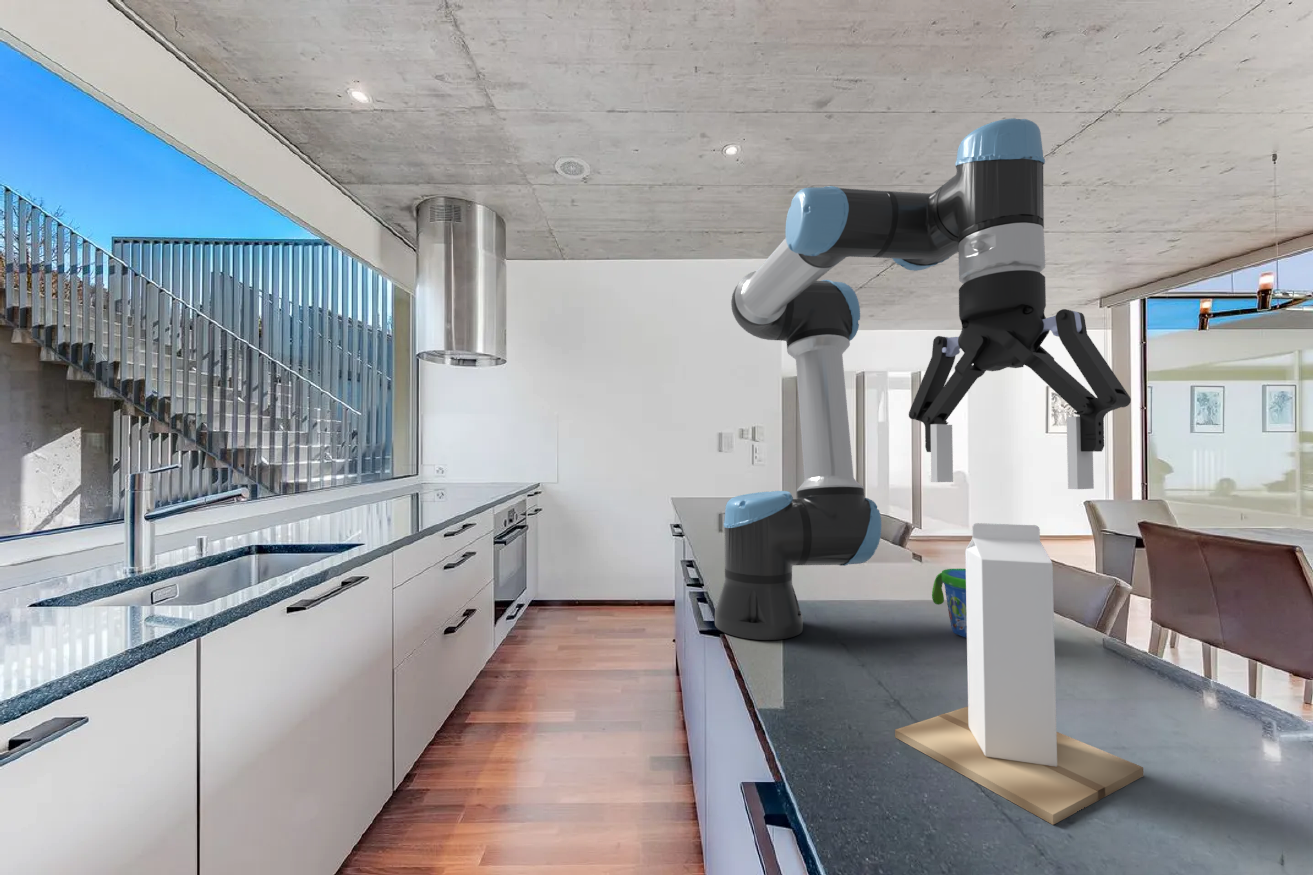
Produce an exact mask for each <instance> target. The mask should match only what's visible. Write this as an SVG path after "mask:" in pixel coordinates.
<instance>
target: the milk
mask: <svg viewBox="0 0 1313 875" xmlns="http://www.w3.org/2000/svg"><path fill="white" fill-rule="evenodd" d="M971 533H972V534H971V535H972V538H971V540H970V541H969V543H968V545H967V546H966V548H965V554H964V555H965V569H966V612H967V638H966V656H967V657H966V658H967V660H966V661H967V662H966V663H967V665H966V668H967V706H968V725H969V729H970V730H971V732H972V734H973V735H974V737H975V739H976V741H977V742H978V744H979V746H980V748H981V749H982V751H983V753H984V755H985V756H986V757H992V758H999V759H1006V760H1013V761H1020V762H1027V763H1034V764H1041V765H1048V766H1055V767H1057V733H1056V732H1057V702H1056V701H1057V699H1056V696H1057V695H1056V694H1057V693H1056V659H1055V656H1056V654H1055V651H1056V650H1055V649H1056V648H1055V621H1054V620H1055V613H1054V608H1055V607H1054V580H1053V579H1054V577H1053V576H1054V571H1053V570H1054V568H1053V566H1054V565H1053V562H1052V559H1051V558H1050V556H1049V554H1048V552H1047V551H1046V549H1045V547H1044V546H1043V544H1042V541H1041V529H1040V527H1039V526H1038V525H1035V524H1010V523H985V522H984V523H982V522H981V523H979V522H975V523H973V524H972V530H971Z"/></svg>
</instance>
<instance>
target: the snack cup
mask: <svg viewBox="0 0 1313 875" xmlns="http://www.w3.org/2000/svg"><path fill="white" fill-rule="evenodd" d="M943 584H944V590H945V591H944V592H945V596H944V592H943ZM945 597H946V604H947V610H948V611H947V612H948V617H949V621H950V627H951V630H952V633H954V634H955V635H956V636H960V637H963V638H966V639H967V612H966V568H947V569H943V570H942V571H941V572H939V573H938V574H937V575H936V577H935V579H934V581H933V585H932V591H931V599H932V602H933V603H934V604H935V605H943V603H944V602H945Z"/></svg>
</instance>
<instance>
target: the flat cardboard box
mask: <svg viewBox="0 0 1313 875" xmlns="http://www.w3.org/2000/svg"><path fill="white" fill-rule="evenodd" d="M1056 733H1057V767H1055V766H1048V765H1041V764H1034V763H1027V762H1020V761H1013V760H1006V759H999V758H992V757H986V756H985V755H984V753H983V751H982V749H981V748H980V746H979V744H978V742H977V741H976V739H975V737H974V735H973V734H972V732H971V730H970V729H969V725H968V705H967V706H965V707H961V708H957V709H955V710H952V711H949V712H946V713H945V712H944V713H942V714H938V715H936V716H933V717H929V718H928V719H923V720H921V721H918V722H914V723H912V724H909V725H906V726H901V727H900V728H895V730H894V738H895V739H897V740H900V741H901V742H903V743H905V744H906V745H909V746H910V747H911V748H912V749H913V748H914V749H915V750H917V751H919V752H921V753H923V754H925V755H926V756H928V757H930V758H932V759H933V760H935V761H937V762H939V763H941V765H944V766H946V767H947V768H949V769H951V770H953V771H955V772H957V773H959V774H961V775H963V776H964V777H966V778H967V779H970V780H971V781H973V782H975V783H977V784H978V785H980V786H983V787H985V789H987V790H990V791H992V792H993V793H995V794H996V795H998V796H1000V797H1002V798H1003V799H1006V800H1007V801H1009V802H1011V803H1013V804H1014V805H1017V806H1018V807H1020V808H1021V809H1024V810H1025V811H1027V812H1029V813H1031V814H1032V815H1035V816H1037V817H1038V818H1040V819H1042V820H1044V821H1045V822H1047V823H1049V824H1051V825H1052V826H1053V825H1055V824H1058V823H1059V822H1061V821H1064V820H1065V819H1067V818H1068V817H1070V816H1072V815H1074V814H1076V813H1078V812H1080V811H1081V809H1082V810H1084V809H1085V808H1088V807H1089V806H1091V805H1093V804H1094V803H1097V802H1099V801H1100V800H1102V799H1104V798H1105V797H1107V796H1109V795H1111V794H1113V793H1115V792H1117V791H1118V790H1120V789H1123V788H1124V787H1126V786H1128V785H1130V784H1131V783H1133V782H1134V783H1135V781H1137V780H1139V779H1141V778H1142V777H1144V767H1143V766H1142V765H1139V764H1137V763H1134V762H1132V761H1129V760H1126V759H1124V758H1122V757H1120V756H1117V755H1114V754H1113V753H1112V754H1111V753H1110V752H1107V751H1105V750H1102V749H1100V748H1098V747H1095V746H1093V745H1090V744H1088V743H1086V742H1083V741H1080V740H1078V739H1075V738H1073V737H1072V736H1071V737H1070V736H1069V735H1066V734H1063V733H1061V732H1058V731H1056ZM1084 807H1085V808H1084ZM1079 810H1080V811H1079ZM1077 811H1078V812H1077Z"/></svg>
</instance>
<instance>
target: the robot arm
mask: <svg viewBox="0 0 1313 875" xmlns="http://www.w3.org/2000/svg"><path fill="white" fill-rule="evenodd" d="M1043 151H1044V150H1043V141H1042V134H1041V129H1040V127H1039V126H1038V124H1037V123H1035V122H1034V121H1033V120H1029V119H1027V118H1015V117H1013V118H1005V119H1004V118H1003V119H998V120H995V121H993V122H990V123H987V124H984V125H982V126H980V127H978V128H975V129H974V130H972V131H971V132H970V133H968V134H967V135H966V136H965V137H964V138H963V139H962V140H961V142H960V143H959V146H958V149H957V152H956V154H957V155H956V161H955V168H956V173H955V175H954V176H952V177H951V178H950V179H948V180H947V181H946V182H944V184H942V185H941V186H940V187H939V188H937V189H936V190H935V191H933V192H930V193H929V192H928V193H927V192H926V193H925V192H912V191H911V192H909V191H889V190H874V189H873V190H872V189H858V188H843V187H838V186H833V185H830V186H823V187H819V186H818V187H804V188H802V189H800V190H798V191H797V192H796V194H794V197H793V198H792V200H791V202H790V203H791V204H790V206H789V208H788V211H787V215H786V219H785V220H786V221H785V238H784V239H783V240H782V241H781V243H780V244H778V246H776V248H775V250H773V252H772V253H771V254H770V255H768V257H767V259H765V261H764V262H763V263H762V264H761V265H760V266H759V268H758V269H757V270H754V271H752V272H750V273H748V274H746V275H744V276H743V277H742V279H741V280H740V281H738V283H737V285H736V286H735V288H734V290H733V292H732V295H731V300H730V301H731V302H730V303H731V304H730V305H731V311H732V314H733V317H734V319H735V321H736V323H738V325H739V326H740V327H741V328H742V329H743V330H744V331H745V332H747V333H748V334H750V335H752V336H753V337H756V338H757V339H758V338H759V339H761V340H767V341H780V342H781V341H783V342H784V341H785V342H786V352H787V354H788V356H790V357H792V358H793V359H795V366H796V380H797V392H798V393H797V394H798V408H799V422H800V423H799V424H800V433H801V434H800V437H801V449H802V450H801V451H802V462H803V464H802V465H803V477H804V480H803V482H802V483H801V485H800V486H799V487H798V488H797V489H796V496H797V497H796V498H794V497H793V496H792V493H791V492H790V491H787V490H775V491H773V490H772V491H761V492H760V491H759V492H752V493H746V494H742V495H741V494H740V495H736V496H733V497H732V498H730V499H729V500H728V501H727V502H726V505H725V509H724V510H725V512H724V520H723V528H724V582H723V586H722V587H721V588H722V589H721V591H720V594H719V598H718V601H717V604H716V608H715V610H714V626H715V627H716V628H717V630H719V631H720V632H722V633H725V634H727V635H730V636H734V637H737V638H742V639H750V640H759V641H777V640H784V639H785V640H786V639H790V638H794V637H797V636H799V635H800V634H801V633H802V632H803V631H804V618H803V613H802V611H801V609H800V605H799V601H798V598H797V595H796V592H795V589H794V586H793V567H794V566H844V567H845V566H848V565H858V564H859V565H860V564H864V563H867V562H868V561H869V560H870V559H872V558H873V556H874V555H875V553H876V550H878V547H879V545H880V541H881V536H882V517H881V513H880V510H879V509H878V505H877V504H876V502H875V501H874V500H872V499H870V498H868V497H865V488H864V486H863V485H861V484H860V483H859V482H858V481H857V480H856V479H855V478H854V477H855V476H854V468H853V456H852V448H851V447H852V446H851V434H850V424H849V413H848V411H849V410H848V401H847V392H846V378H845V368H844V360H843V354H844V353H845V352H846V351H847V350H848V349H849V347H850V344H851V343H850V342H851V341H852V340H853V339H854V338H855V337H856V336H857V333H858V330H859V327H860V323H859V321H860V320H861V308H860V302H859V298H858V296H857V294H856V292H855V290H854V289H853V288H852V287H851V286H850V285H849V284H847V283H845V282H843V281H833V280H831V279H821V280H819V279H820V278H822V277H823V276H824V275H825V274H827V273H828V272H829V271H831V269H833V268H834V267H835V266H836V265H838V264H840V263H841V262H842V261H844V260H845V259H846V258H849V257H850V258H851V257H852V258H853V257H854V258H855V257H857V258H877V259H878V258H879V259H892V260H893V261H894V263H895V264H897V265H899V266H901V267H902V268H904V269H906V270H908V271H913V272H915V271H917V272H918V271H922V270H926V269H928V268H930V267H933V266H934V267H935V266H936V265H938V264H940V263H941V264H943V262H945V261H946V260H949V259H950V258H951V257H953V256H954V255H956V254H957V253H958V281H959V282H961V283H962V285H961V286H960V287H959V288H958V316H959V320H960V324H961V331H960V334H959V336H951V337H949V336H941V335H938V336H935V337H934V339H933V341H932V350H931V351H932V352H931V358H930V360H929V362H928V365H927V367H926V370H925V372H924V375H923V378H922V380H921V382H920V385H919V387H918V388H917V389H918V390H917V393H916V394H915V397H914V399H913V402H912V404H911V406H910V409H909V411H908V417H909V419H911V420H916V421H919V422H921V423H923V425H924V433H925V436H924V438H925V441H924V442H925V445H924V447H925V450H926V453H930V477H931V478H930V480H931V483H952V482H954V469H953V468H954V467H953V466H954V464H953V463H954V460H953V457H954V456H953V454H954V451H953V450H954V449H953V447H954V446H953V424H949V422H947V420H948V418H950V416H951V414H952V413H953V412H954V410H955V409H957V406H959V403H960V402H961V401H962V400H963V398H964V397H965V396H966V395H967V393H968V392H969V390H970V389H971V388H972V386H973V384H975V382H976V381H977V380H978V379H979V378H980V377H982V376H983V375H984V374H985V373H986V372H987V371H988V372H998V371H1001V370H1004V369H1007V368H1010V369H1019V368H1024V366H1026V367H1027V368H1029V369H1030V370H1032V371H1033V372H1034V373H1035V374H1036V375H1037V376H1038V377H1039V378H1040V379H1041V380H1042V381H1043V382H1044V383H1045V384H1046V385H1047V386H1049V387H1050V388H1051V389H1052V390H1053V391H1054V393H1056V394H1057V395H1058V396H1059V397H1060V398H1061V399H1062V400H1064V401H1065V403H1067V404H1068V405H1069V406H1070V407H1071V408H1072V409H1073V410H1074V412H1073V414H1074V415H1075V416H1066V446H1067V447H1066V450H1067V451H1066V452H1067V453H1066V457H1067V460H1066V461H1067V462H1066V463H1067V489H1068V490H1091V489H1093V490H1094V488H1095V486H1094V483H1095V482H1094V452H1095V453H1096V452H1100V453H1101V452H1103V450H1104V447H1105V424H1104V423H1105V422H1104V421H1105V416H1106V414H1108V413H1110V412H1111V411H1114V410H1117V409H1120V408H1126V407H1128V406H1129V405H1130V403H1131V401H1132V398H1131V396H1130V395H1129V394H1128V392H1127V390H1126V389H1125V388H1124V386H1123V385H1122V383H1121V381H1119V379H1118V377H1117V375H1116V374H1115V373H1114V371H1113V370H1112V369H1111V367H1110V365H1109V364H1108V363H1107V361H1106V359H1105V358H1104V356H1103V355H1102V354H1101V352H1100V351H1099V349H1098V347H1096V345H1095V343H1094V342H1093V340H1092V339H1091V337H1090V336H1089V334H1088V331H1087V326H1086V325H1087V323H1086V317H1085V315H1084V314H1083V313H1082V312H1079V311H1075V310H1070V309H1066V308H1063V309H1060V310H1058V311H1057V312H1056V313H1055V315H1052V316H1049V317H1046V316H1045V309H1046V308H1047V303H1046V302H1047V301H1046V300H1047V299H1046V296H1047V295H1046V294H1047V293H1046V292H1047V290H1046V276H1045V275H1044V274H1042V271H1043V270H1044V269H1045V268H1046V252H1045V231H1044V229H1045V223H1044V222H1045V217H1044V216H1045V215H1044V214H1045V212H1044V211H1045V210H1044V209H1045V208H1044V207H1045V206H1044V205H1045V203H1044V199H1045V197H1044V196H1045V195H1044V189H1045V188H1044V165H1045V164H1046V159H1045V158H1044V152H1043ZM1050 331H1051V333H1052V334H1053V336H1055V337H1059V338H1058V339H1059V340H1060V342H1061V344H1062V345H1063V346H1064V348H1065V350H1066V352H1067V353H1068V355H1069V356H1070V357H1071V359H1072V361H1073V362H1074V364H1075V365H1076V367H1077V368H1078V370H1079V371H1080V373H1081V375H1082V376H1083V378H1084V380H1085V381H1086V382H1087V384H1088V385H1089V388H1090V389H1091V390H1092V391H1093V393H1094V394H1093V393H1092V392H1090V391H1089V390H1088V389H1087V388H1086V387H1085V386H1083V385H1082V383H1080V382H1079V380H1077V379H1076V378H1075V377H1074V376H1072V375H1071V374H1070V373H1069V372H1068V371H1067V369H1065V368H1064V367H1062V365H1060V364H1059V363H1058V362H1057V361H1055V357H1054V356H1053V355H1051V354H1050V353H1049V352H1048V351H1047V350H1046V349H1045V348H1043V347H1042V346H1041V345H1042V344H1043V342H1044V340H1045V339H1046V337H1047V336H1048V335H1049V333H1050ZM961 350H962V351H963V354H962V356H961V357H960V359H959V360H958V362H957V363H956V364H955V360H956V356H957V355H959V354H960V352H961ZM954 364H955V366H954ZM953 366H954V372H953V373H952V374H951V376H950V373H951V371H952V369H953ZM949 376H950V378H949ZM947 379H948V380H947ZM1077 415H1078V416H1077Z"/></svg>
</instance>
